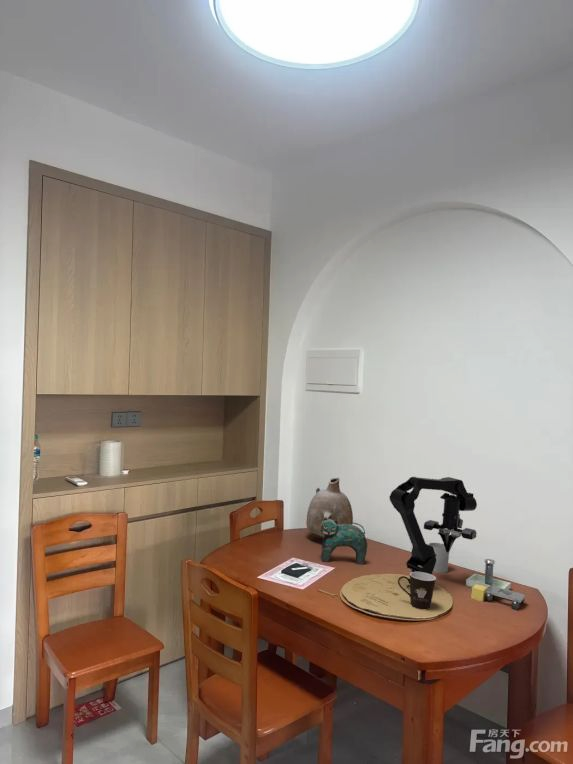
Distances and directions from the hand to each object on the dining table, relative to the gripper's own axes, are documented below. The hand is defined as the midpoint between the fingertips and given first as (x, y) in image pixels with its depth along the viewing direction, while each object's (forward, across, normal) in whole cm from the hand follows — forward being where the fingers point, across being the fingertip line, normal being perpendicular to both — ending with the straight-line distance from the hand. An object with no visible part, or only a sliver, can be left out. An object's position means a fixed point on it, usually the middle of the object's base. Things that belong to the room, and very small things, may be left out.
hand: (447, 552), depth 209 cm
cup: (+13, +9, -16) cm, 22 cm away
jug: (+13, +61, -14) cm, 64 cm away
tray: (+12, -13, -11) cm, 21 cm away
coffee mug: (+13, 0, +28) cm, 31 cm away
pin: (+12, -13, -11) cm, 21 cm away
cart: (+12, -22, 0) cm, 25 cm away
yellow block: (+13, -14, +4) cm, 19 cm away
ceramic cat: (+13, +41, +8) cm, 44 cm away
